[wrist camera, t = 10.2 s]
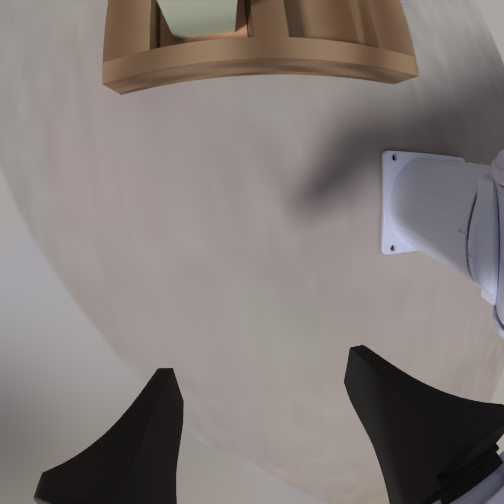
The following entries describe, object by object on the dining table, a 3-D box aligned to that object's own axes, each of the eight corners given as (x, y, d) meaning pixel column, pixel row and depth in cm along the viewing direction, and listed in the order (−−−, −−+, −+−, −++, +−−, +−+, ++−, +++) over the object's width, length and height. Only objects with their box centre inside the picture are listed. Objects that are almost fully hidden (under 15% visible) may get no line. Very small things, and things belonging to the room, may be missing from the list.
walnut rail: (368, -19, 13) (385, -36, 10) (394, 84, 16) (418, 76, 13) (127, -17, 12) (115, -36, 9) (121, 94, 15) (102, 83, 12)
